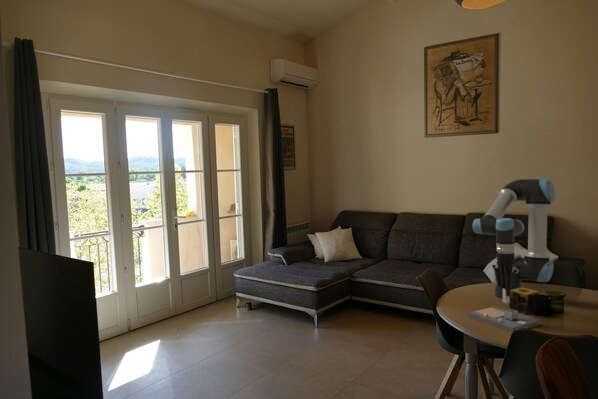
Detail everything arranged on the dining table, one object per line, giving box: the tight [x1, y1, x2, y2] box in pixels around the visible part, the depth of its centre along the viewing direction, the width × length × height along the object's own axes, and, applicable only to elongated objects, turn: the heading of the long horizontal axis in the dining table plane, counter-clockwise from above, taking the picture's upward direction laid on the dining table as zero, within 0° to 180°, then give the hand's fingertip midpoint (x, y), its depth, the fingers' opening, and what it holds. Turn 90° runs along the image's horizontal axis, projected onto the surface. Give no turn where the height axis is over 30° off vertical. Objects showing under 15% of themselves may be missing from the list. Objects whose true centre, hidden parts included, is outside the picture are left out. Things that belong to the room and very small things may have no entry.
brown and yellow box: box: [508, 286, 540, 315], centre depth 211 cm, size 10×10×10 cm
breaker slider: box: [504, 308, 519, 320], centre depth 194 cm, size 4×4×4 cm
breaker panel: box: [468, 306, 541, 333], centre depth 198 cm, size 24×18×3 cm
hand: (506, 302), depth 197 cm, fingers closed
